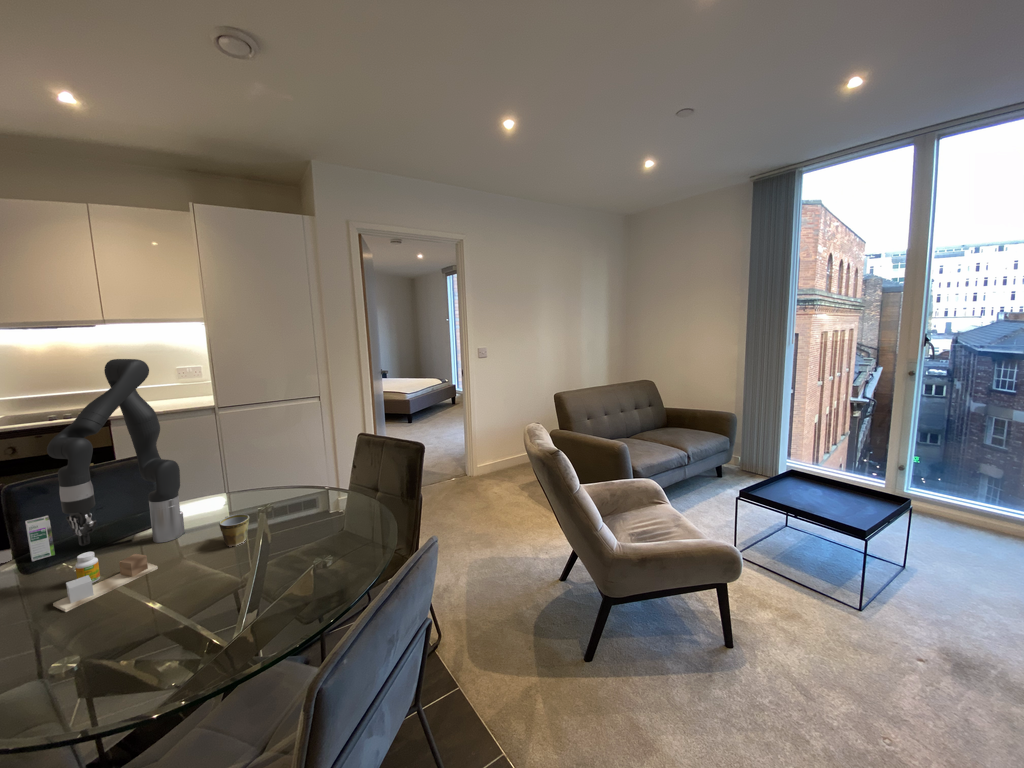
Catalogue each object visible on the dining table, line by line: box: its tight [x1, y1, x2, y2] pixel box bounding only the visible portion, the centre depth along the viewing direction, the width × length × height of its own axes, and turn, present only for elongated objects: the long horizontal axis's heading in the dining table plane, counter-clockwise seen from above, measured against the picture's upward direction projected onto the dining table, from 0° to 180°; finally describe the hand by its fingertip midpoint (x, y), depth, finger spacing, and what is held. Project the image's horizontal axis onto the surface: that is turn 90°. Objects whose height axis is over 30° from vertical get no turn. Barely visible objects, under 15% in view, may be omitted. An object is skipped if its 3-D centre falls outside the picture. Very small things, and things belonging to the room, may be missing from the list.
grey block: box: [65, 575, 94, 603], centre depth 128 cm, size 5×5×5 cm
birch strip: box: [52, 562, 158, 613], centre depth 135 cm, size 24×7×1 cm, turn 160°
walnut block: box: [118, 553, 148, 577], centre depth 141 cm, size 5×5×5 cm
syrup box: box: [24, 515, 56, 562], centre depth 150 cm, size 6×6×14 cm
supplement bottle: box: [74, 551, 101, 584], centre depth 136 cm, size 5×5×10 cm
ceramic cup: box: [218, 513, 250, 548], centre depth 163 cm, size 13×10×10 cm
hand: (84, 544), depth 135 cm, fingers closed
